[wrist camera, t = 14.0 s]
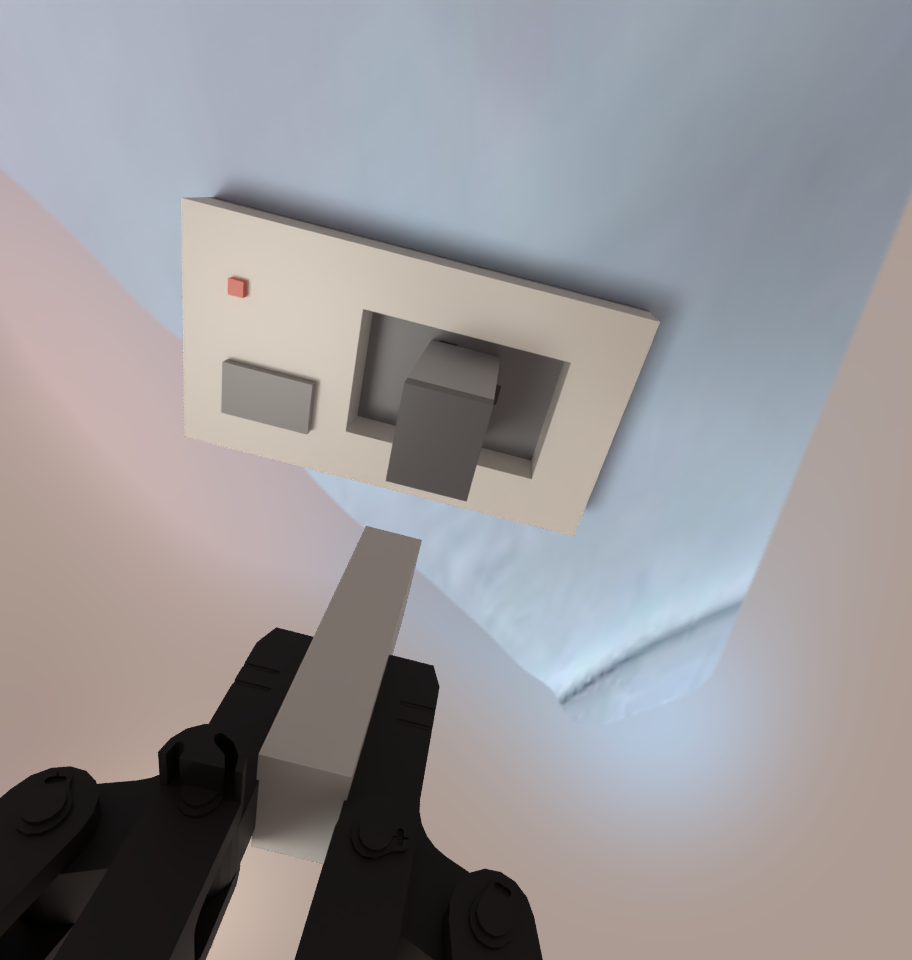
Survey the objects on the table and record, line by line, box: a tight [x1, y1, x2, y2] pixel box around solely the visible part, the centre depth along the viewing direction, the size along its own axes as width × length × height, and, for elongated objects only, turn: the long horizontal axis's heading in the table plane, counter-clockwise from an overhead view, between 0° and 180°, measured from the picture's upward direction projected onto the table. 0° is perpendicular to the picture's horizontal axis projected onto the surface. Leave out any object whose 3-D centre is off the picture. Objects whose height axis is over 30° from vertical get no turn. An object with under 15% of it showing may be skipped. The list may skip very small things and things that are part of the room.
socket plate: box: [181, 197, 660, 536], centre depth 31 cm, size 13×24×4 cm, turn 77°
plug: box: [386, 340, 500, 502], centre depth 28 cm, size 5×4×8 cm
